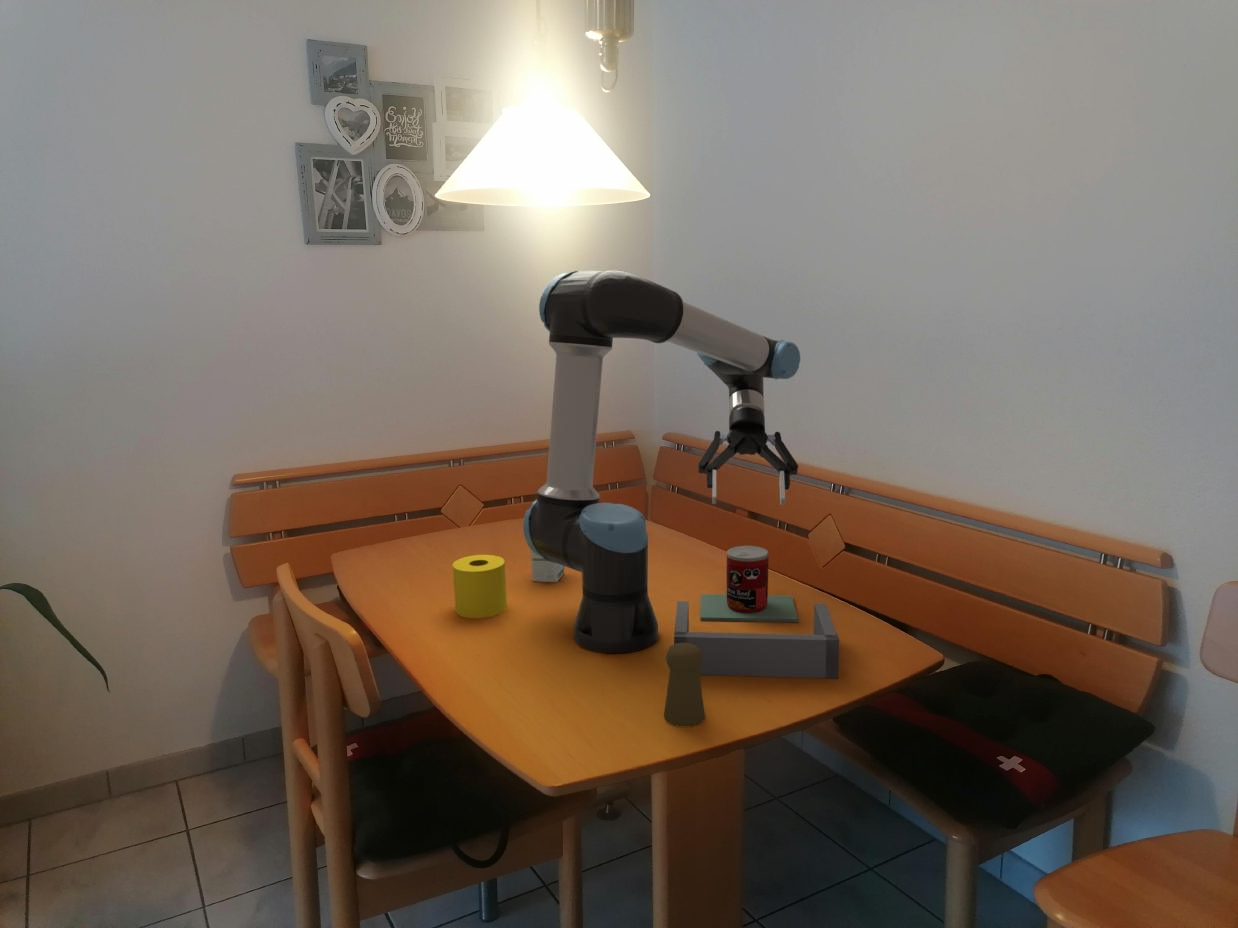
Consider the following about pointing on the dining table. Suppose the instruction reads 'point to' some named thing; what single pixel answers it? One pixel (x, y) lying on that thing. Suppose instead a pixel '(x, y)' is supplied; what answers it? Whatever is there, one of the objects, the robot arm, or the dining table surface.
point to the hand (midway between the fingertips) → (748, 501)
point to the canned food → (747, 579)
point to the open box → (765, 649)
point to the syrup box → (545, 569)
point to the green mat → (775, 611)
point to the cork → (684, 686)
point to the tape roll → (479, 586)
